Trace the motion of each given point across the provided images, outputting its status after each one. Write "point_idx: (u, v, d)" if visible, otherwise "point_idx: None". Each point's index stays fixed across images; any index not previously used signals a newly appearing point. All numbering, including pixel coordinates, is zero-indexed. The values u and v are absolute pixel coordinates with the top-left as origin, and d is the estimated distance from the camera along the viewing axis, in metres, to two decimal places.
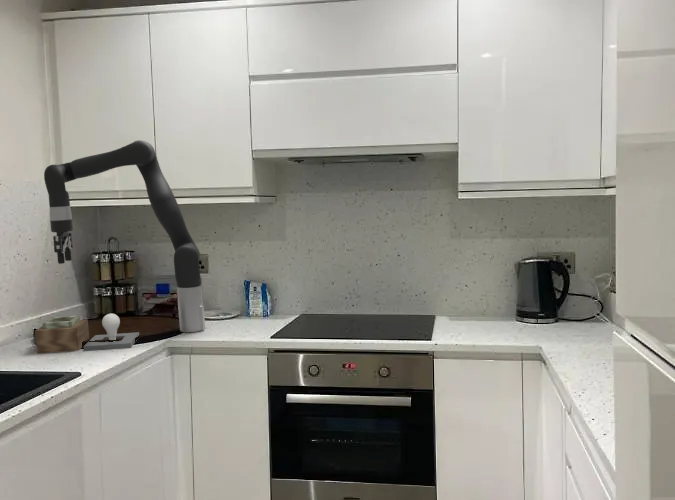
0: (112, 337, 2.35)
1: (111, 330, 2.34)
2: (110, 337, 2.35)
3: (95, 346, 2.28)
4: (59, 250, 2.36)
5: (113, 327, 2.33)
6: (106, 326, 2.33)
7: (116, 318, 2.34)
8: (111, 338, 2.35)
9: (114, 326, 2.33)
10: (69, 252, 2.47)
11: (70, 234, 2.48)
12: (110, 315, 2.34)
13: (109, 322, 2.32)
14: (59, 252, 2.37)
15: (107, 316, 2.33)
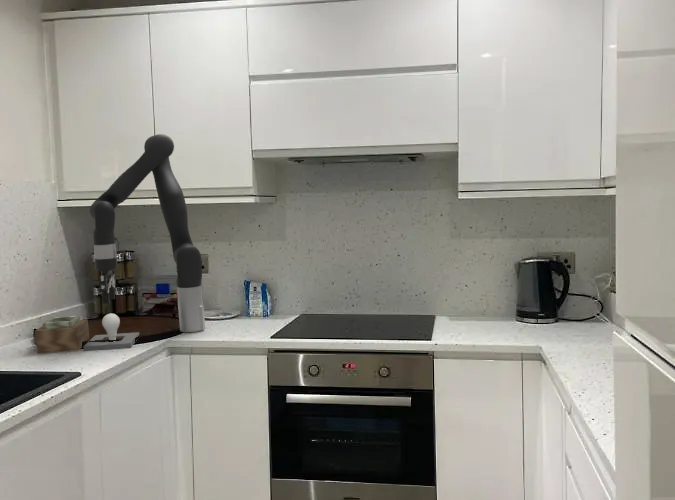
0: (112, 337, 2.35)
1: (111, 330, 2.34)
2: (110, 337, 2.35)
3: (95, 346, 2.28)
4: (104, 290, 2.27)
5: (113, 327, 2.33)
6: (106, 326, 2.33)
7: (116, 318, 2.34)
8: (111, 338, 2.35)
9: (114, 326, 2.33)
10: (113, 290, 2.38)
11: (114, 272, 2.39)
12: (110, 315, 2.34)
13: (109, 322, 2.32)
14: (104, 292, 2.28)
15: (107, 316, 2.33)
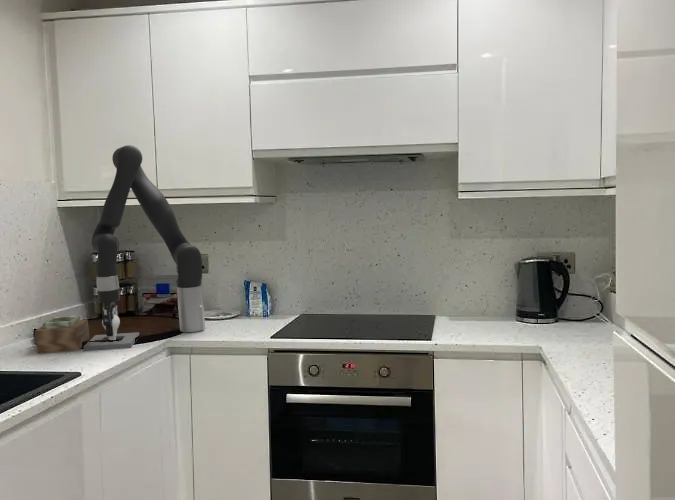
0: (112, 337, 2.35)
1: None
2: (110, 337, 2.35)
3: (95, 346, 2.28)
4: (108, 323, 2.29)
5: (113, 327, 2.33)
6: None
7: (116, 318, 2.34)
8: (111, 338, 2.35)
9: (114, 326, 2.33)
10: None
11: (116, 304, 2.40)
12: None
13: None
14: (108, 325, 2.30)
15: None
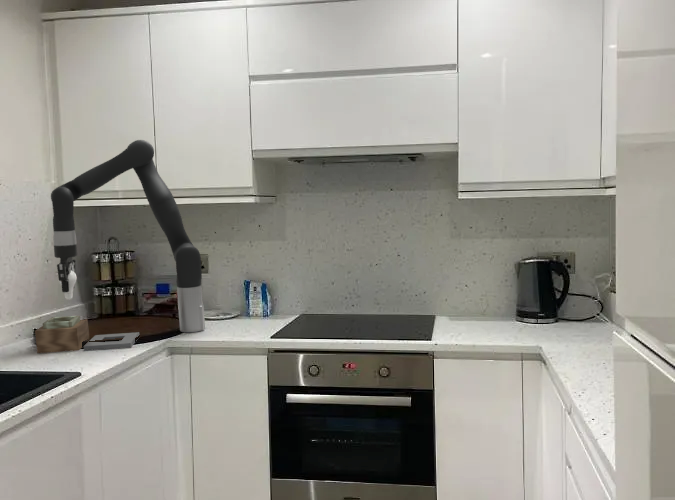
0: (68, 293, 2.31)
1: None
2: (66, 293, 2.31)
3: (95, 346, 2.28)
4: (64, 278, 2.26)
5: (69, 283, 2.30)
6: None
7: (73, 274, 2.30)
8: (67, 294, 2.31)
9: (70, 282, 2.30)
10: None
11: (74, 261, 2.37)
12: None
13: None
14: (63, 280, 2.27)
15: None
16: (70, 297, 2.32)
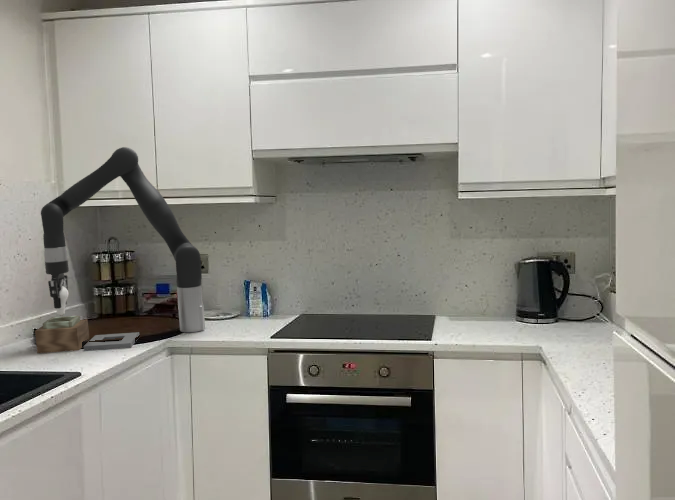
0: (60, 309, 2.32)
1: None
2: (58, 309, 2.31)
3: (95, 346, 2.28)
4: (55, 295, 2.26)
5: (61, 299, 2.30)
6: None
7: (64, 290, 2.31)
8: (59, 310, 2.32)
9: (62, 298, 2.30)
10: None
11: (66, 276, 2.37)
12: None
13: None
14: (55, 297, 2.27)
15: None
16: (62, 313, 2.32)
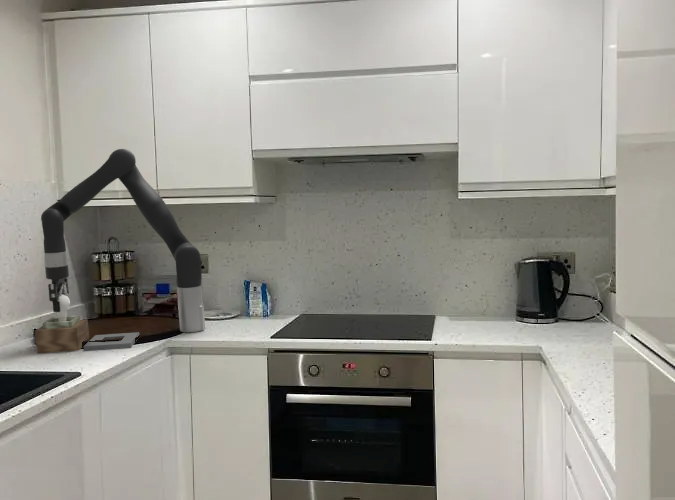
0: (62, 318, 2.32)
1: (61, 311, 2.31)
2: (60, 318, 2.32)
3: (95, 346, 2.28)
4: (54, 299, 2.25)
5: (62, 308, 2.31)
6: None
7: (66, 299, 2.32)
8: (61, 319, 2.32)
9: (64, 306, 2.31)
10: None
11: (66, 279, 2.37)
12: (60, 296, 2.31)
13: None
14: (54, 301, 2.26)
15: None
16: None
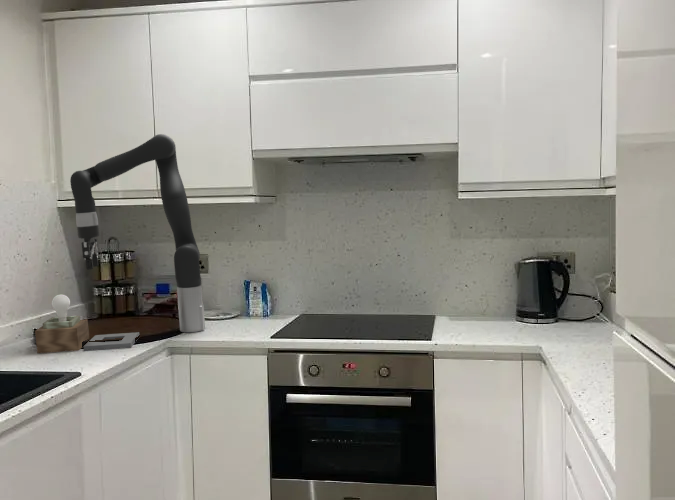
0: (62, 318, 2.32)
1: (61, 311, 2.31)
2: (60, 318, 2.32)
3: (95, 346, 2.28)
4: (88, 256, 2.36)
5: (62, 308, 2.31)
6: (55, 306, 2.30)
7: (66, 299, 2.32)
8: (61, 319, 2.32)
9: (64, 306, 2.31)
10: (96, 258, 2.47)
11: (96, 240, 2.48)
12: (60, 296, 2.31)
13: (59, 303, 2.30)
14: (87, 258, 2.37)
15: (56, 297, 2.31)
16: None
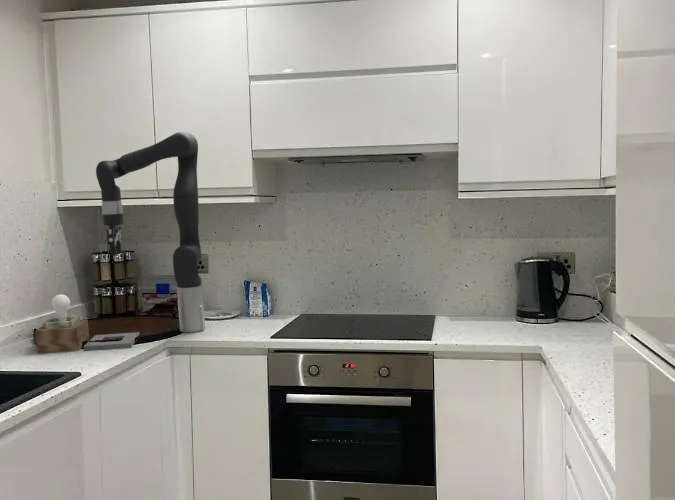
0: (62, 318, 2.32)
1: (61, 311, 2.31)
2: (60, 318, 2.32)
3: (95, 346, 2.28)
4: (112, 243, 2.46)
5: (62, 308, 2.31)
6: (55, 306, 2.30)
7: (66, 299, 2.32)
8: (61, 319, 2.32)
9: (64, 306, 2.31)
10: (119, 245, 2.57)
11: (120, 228, 2.58)
12: (60, 296, 2.31)
13: (59, 303, 2.30)
14: (112, 244, 2.47)
15: (56, 297, 2.31)
16: None
